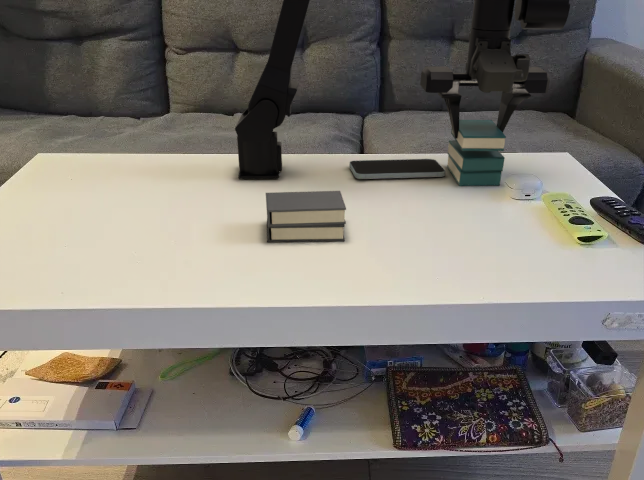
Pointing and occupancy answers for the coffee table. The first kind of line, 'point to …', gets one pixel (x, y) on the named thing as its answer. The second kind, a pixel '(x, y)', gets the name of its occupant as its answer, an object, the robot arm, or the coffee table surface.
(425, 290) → the coffee table surface
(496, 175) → the teal book
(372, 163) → the smartphone
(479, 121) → the teal book
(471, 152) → the teal book
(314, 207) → the grey book
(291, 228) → the grey book
